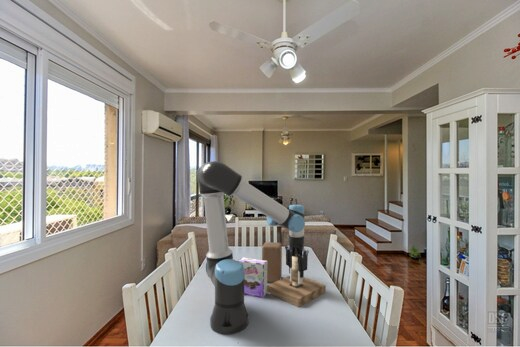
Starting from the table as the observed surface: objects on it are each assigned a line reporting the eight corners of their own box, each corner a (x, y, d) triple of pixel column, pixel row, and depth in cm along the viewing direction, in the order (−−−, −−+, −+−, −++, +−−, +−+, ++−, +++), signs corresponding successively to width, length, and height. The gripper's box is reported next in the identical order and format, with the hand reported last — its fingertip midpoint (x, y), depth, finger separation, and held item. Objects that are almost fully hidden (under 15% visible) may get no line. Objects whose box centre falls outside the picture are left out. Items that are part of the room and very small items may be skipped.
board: (298, 307, 116) (298, 299, 116) (266, 292, 131) (266, 285, 131) (325, 292, 132) (325, 285, 132) (294, 280, 146) (294, 273, 146)
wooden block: (279, 284, 141) (279, 247, 141) (261, 282, 143) (261, 246, 143) (281, 277, 150) (281, 242, 150) (264, 275, 152) (264, 241, 152)
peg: (296, 295, 128) (297, 258, 128) (289, 291, 131) (290, 256, 131) (302, 292, 131) (302, 256, 131) (295, 289, 135) (295, 254, 135)
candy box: (237, 293, 130) (237, 260, 130) (242, 288, 135) (242, 256, 135) (263, 298, 124) (263, 263, 125) (267, 293, 130) (267, 260, 130)
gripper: (315, 237, 128) (315, 285, 128) (288, 231, 140) (287, 275, 140) (306, 240, 122) (305, 289, 122) (278, 233, 135) (278, 278, 135)
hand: (296, 281), depth 131 cm, fingers closed on peg, 4 cm apart
